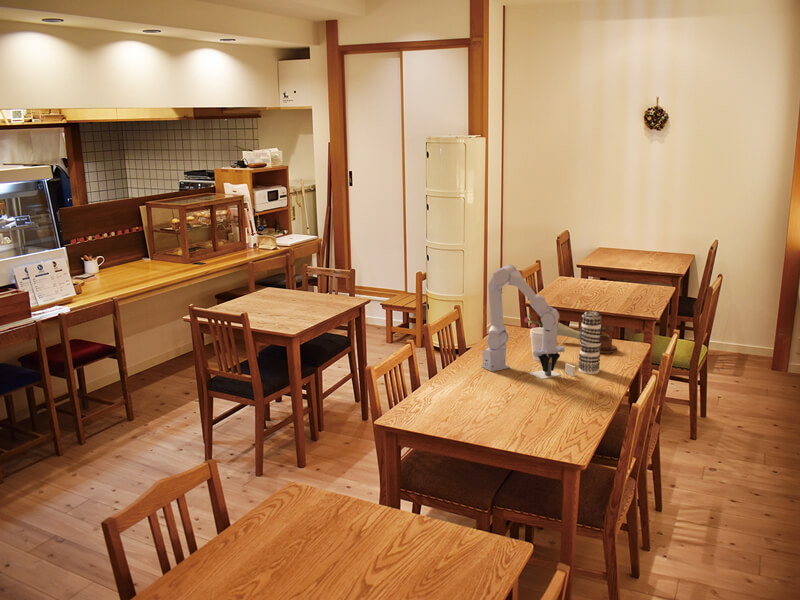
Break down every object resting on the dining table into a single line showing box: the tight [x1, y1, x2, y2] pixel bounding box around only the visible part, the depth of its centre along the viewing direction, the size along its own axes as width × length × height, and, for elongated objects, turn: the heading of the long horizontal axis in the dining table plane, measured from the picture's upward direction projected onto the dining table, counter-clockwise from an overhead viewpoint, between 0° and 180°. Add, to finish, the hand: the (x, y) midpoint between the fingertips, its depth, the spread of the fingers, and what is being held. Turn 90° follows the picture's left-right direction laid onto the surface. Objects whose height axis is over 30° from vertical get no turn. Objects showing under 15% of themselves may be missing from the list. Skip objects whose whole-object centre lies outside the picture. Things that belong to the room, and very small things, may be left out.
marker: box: [545, 358, 552, 376], centre depth 291 cm, size 3×3×7 cm
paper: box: [528, 369, 561, 380], centre depth 294 cm, size 10×8×1 cm
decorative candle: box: [578, 310, 603, 375], centre depth 295 cm, size 9×9×25 cm
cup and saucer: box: [599, 335, 618, 354], centre depth 323 cm, size 12×12×6 cm
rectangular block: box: [564, 362, 576, 377], centre depth 293 cm, size 5×1×4 cm, turn 27°
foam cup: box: [529, 326, 548, 362], centre depth 312 cm, size 10×9×13 cm
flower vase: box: [524, 313, 582, 341], centre depth 337 cm, size 12×12×35 cm
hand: (548, 370), depth 291 cm, fingers closed on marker, 3 cm apart
